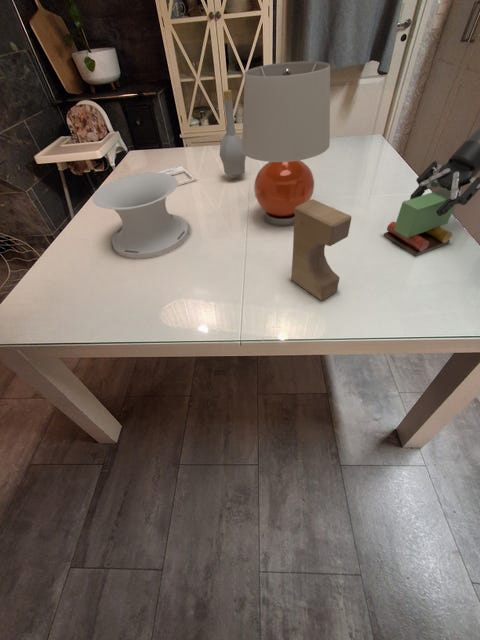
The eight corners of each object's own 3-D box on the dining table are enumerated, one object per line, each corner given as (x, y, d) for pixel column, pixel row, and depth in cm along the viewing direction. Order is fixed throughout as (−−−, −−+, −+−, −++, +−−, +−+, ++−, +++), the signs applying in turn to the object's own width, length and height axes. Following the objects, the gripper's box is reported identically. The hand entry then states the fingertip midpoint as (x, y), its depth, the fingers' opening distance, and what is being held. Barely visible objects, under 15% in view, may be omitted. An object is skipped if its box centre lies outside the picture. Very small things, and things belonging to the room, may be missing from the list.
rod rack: (449, 243, 82) (455, 230, 80) (415, 256, 80) (420, 243, 77) (415, 224, 90) (419, 212, 87) (383, 236, 88) (387, 223, 85)
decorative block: (337, 292, 73) (353, 215, 58) (320, 302, 71) (332, 226, 56) (306, 271, 80) (313, 197, 65) (290, 279, 78) (293, 206, 63)
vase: (121, 222, 107) (103, 177, 96) (189, 213, 107) (179, 168, 96) (106, 262, 90) (81, 214, 79) (187, 252, 90) (175, 203, 79)
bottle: (235, 171, 131) (227, 86, 109) (254, 177, 125) (249, 88, 103) (216, 180, 126) (204, 93, 104) (235, 186, 120) (226, 95, 98)
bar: (447, 223, 82) (460, 195, 76) (407, 238, 79) (417, 209, 73) (432, 216, 85) (443, 188, 80) (393, 229, 82) (402, 201, 76)
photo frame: (181, 165, 138) (194, 177, 127) (181, 168, 139) (195, 180, 128) (151, 173, 135) (162, 186, 123) (151, 176, 136) (162, 189, 124)
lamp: (286, 193, 112) (290, 58, 84) (336, 216, 98) (362, 61, 69) (232, 216, 103) (217, 73, 75) (279, 245, 89) (282, 81, 61)
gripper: (449, 132, 74) (398, 190, 80) (506, 147, 65) (444, 211, 70) (456, 151, 79) (408, 204, 85) (509, 167, 70) (451, 226, 75)
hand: (424, 207), depth 78 cm, fingers open, 8 cm apart
